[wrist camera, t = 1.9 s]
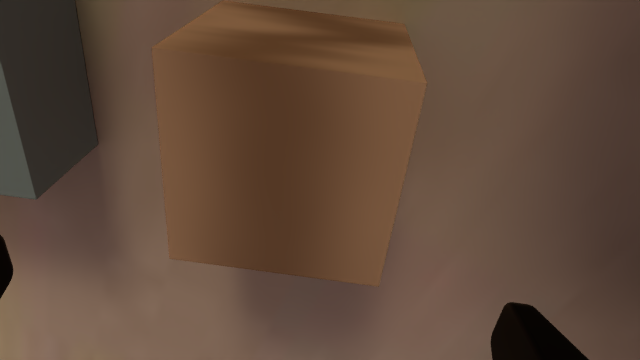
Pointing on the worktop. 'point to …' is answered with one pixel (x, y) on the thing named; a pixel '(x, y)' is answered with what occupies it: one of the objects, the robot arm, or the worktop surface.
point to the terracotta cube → (285, 139)
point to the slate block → (41, 96)
